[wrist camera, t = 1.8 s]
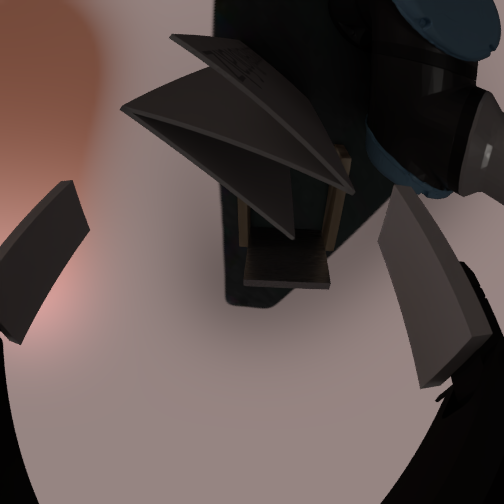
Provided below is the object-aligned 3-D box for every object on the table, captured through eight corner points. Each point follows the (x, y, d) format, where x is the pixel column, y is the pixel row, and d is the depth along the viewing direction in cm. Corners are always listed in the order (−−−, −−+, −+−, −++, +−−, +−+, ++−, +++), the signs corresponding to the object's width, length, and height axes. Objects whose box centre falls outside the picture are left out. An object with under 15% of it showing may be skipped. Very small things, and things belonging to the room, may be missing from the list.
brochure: (308, 99, 39) (356, 192, 17) (284, 121, 42) (292, 240, 20) (239, 40, 34) (172, 33, 11) (215, 65, 37) (119, 109, 14)
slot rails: (343, 145, 44) (351, 158, 39) (329, 230, 56) (333, 250, 51) (240, 138, 45) (236, 151, 40) (242, 226, 57) (239, 246, 52)
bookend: (321, 230, 56) (330, 283, 45) (320, 236, 57) (328, 289, 46) (250, 226, 57) (243, 279, 46) (250, 233, 58) (243, 285, 47)
